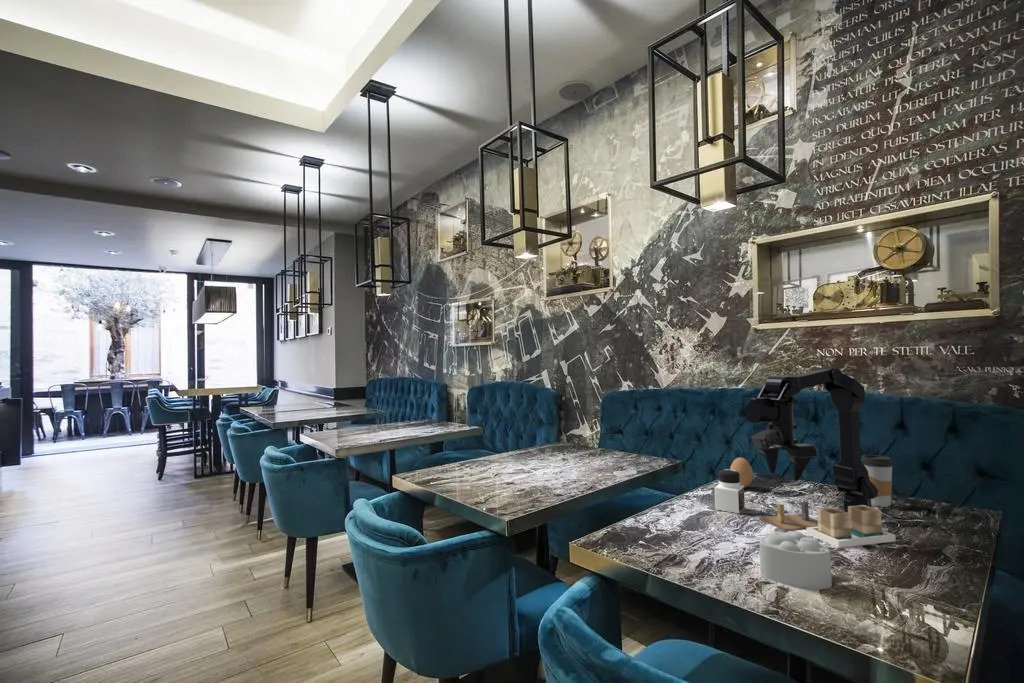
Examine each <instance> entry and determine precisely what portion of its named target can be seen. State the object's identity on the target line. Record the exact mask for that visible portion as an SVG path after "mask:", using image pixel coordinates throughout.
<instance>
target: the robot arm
mask: <svg viewBox="0 0 1024 683" xmlns="http://www.w3.org/2000/svg"><path fill="white" fill-rule="evenodd" d="M820 385H823V389H825V390H826V391H827V392H828V393H829V395H830V399H831V400H830V401H831V403H832V405H833V406H834V407H835V409H836V410H837V414H838V432H839V451H840V452H839V454H840V455H839V456H840V459H839V460H838V462H837V463H836V464H833V465H832V471H833V473H832V474H833V475H832V479H834V483H835V484H836V489H837V491H838V492H839V493H843V511H844V512H847V513H848V506H857V505H866V506H869V507H872V506H871V499H874V498H875V497H877V495H878V489H877V488H876V487H875V486H874V485H873V483H872V482H871V481H870V479H869V474H868V470H867V469H866V467H865V466H864V464H863V463H862V461H861V459H862V455H861V439H860V438H861V436H860V418H859V417H860V416H859V411H860V409H861V408H862V407H863V405H864V404H865V398H866V397H865V394H866V390H865V386H864V385H863V384H862V383H861V382H859V381H858V380H856V379H855V378H854V377H851V376H849V375H847V374H845V373H843V372H842V370H840V369H838V368H836V367H822V368H819V369H816V370H811V371H807V372H802V373H798V374H795V375H770V376H768V377H766V381H765V383H764V385H763V387H762V389H761V390H760V392H759V394H758V396H757V397H751V398H749V402H748V403H747V404H746V406H745V409H744V416H745V418H746V420H747V421H748V422H749V423H752V424H757V423H758V424H759V423H766V426H765V429H764V430H762V431H759V432H757V433H755V434H753V435H751V439H752V440H751V441H752V446H753V447H755V449H756V450H758V451H759V452H760V453H761V454H762V456H763V457H764V459H765V462H766V465H767V467H768V470H769V471H770V473H771V474H774V473H775V472H776V468H777V462H778V457H779V451H780V450H785V451H787V453H788V455H787V458H788V459H789V461H791V468H792V469H791V470H792V476H793V481H795V482H798V481H800V479H801V477H802V475H803V473H804V471H805V469H806V467H807V466H808V464H809V462H810V461H811V460H812V459H813V460H814V458H815V457H818V448H817V447H816V446H815V445H812V444H810V443H809V444H808V443H804V442H803V443H799V439H796V438H795V430H797V429H798V424H794V405H799V403H800V402H799V401H798V400H797V399H796V398H795V397H794V396H795V395H798V394H800V393H801V392H802V390H804V389H808V388H812V387H815V386H816V387H817V386H820Z"/></svg>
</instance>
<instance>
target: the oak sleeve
mask: <svg viewBox="0 0 1024 683" xmlns="http://www.w3.org/2000/svg"><path fill="white" fill-rule="evenodd" d="M816 511H817V513H816V514H817V520H818V530H817V531H819V532H821V533H823V534H826V535H828V536H830V537H833V538H835V539H838V540H842V539H851V538H852V536H851V523H850V513H847V512H844V510H841V509H838V508H836V507H828V508H817V510H816Z"/></svg>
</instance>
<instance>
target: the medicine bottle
mask: <svg viewBox="0 0 1024 683" xmlns="http://www.w3.org/2000/svg"><path fill="white" fill-rule="evenodd" d="M745 502H746V501H745V488H744V486H743V485H740V474H739V472H737V471H735V470H730V469H728V468H727V469H721V470H718V484H717V485H716V486H715V487H714V509H715V511H719V510H721V512H725V511H727V512H726V513H731V512H734V513H733V514H737V513H739V514H741V512H742V511H743V510H744V509H745V505H746V504H745Z"/></svg>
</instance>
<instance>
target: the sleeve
mask: <svg viewBox="0 0 1024 683" xmlns="http://www.w3.org/2000/svg"><path fill="white" fill-rule="evenodd" d="M848 513H850V523H851V534H852V535H855V536H857V537H869V536H878V535H883V532H882V530H883V526H882V510H881V509H878V508H875V507H873V506H871V507H869V506H866V505H857V506H848Z"/></svg>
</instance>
